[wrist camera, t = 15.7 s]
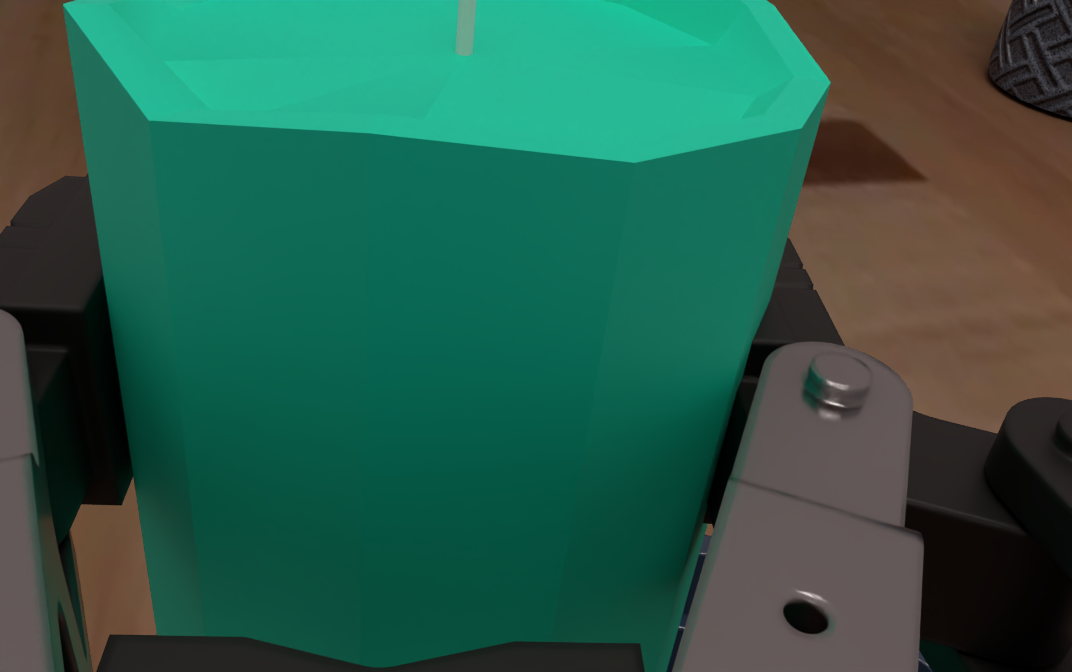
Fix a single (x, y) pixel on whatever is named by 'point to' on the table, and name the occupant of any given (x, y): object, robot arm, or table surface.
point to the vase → (1036, 54)
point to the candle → (434, 303)
